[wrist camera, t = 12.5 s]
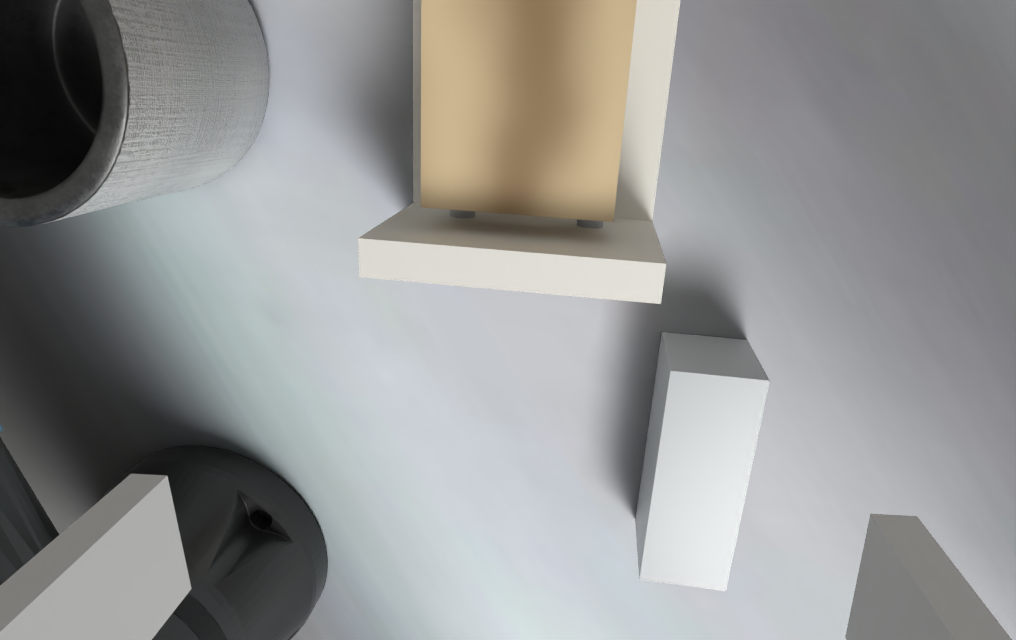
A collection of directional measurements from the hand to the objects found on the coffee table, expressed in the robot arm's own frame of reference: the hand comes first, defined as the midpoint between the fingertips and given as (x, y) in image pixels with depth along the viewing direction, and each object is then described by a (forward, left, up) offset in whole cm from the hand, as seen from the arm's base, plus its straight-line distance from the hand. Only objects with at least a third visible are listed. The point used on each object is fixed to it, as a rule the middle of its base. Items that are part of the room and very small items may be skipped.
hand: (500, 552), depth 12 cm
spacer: (+8, -10, -23) cm, 26 cm away
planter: (-21, +8, -24) cm, 33 cm away
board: (-2, +12, -20) cm, 23 cm away
